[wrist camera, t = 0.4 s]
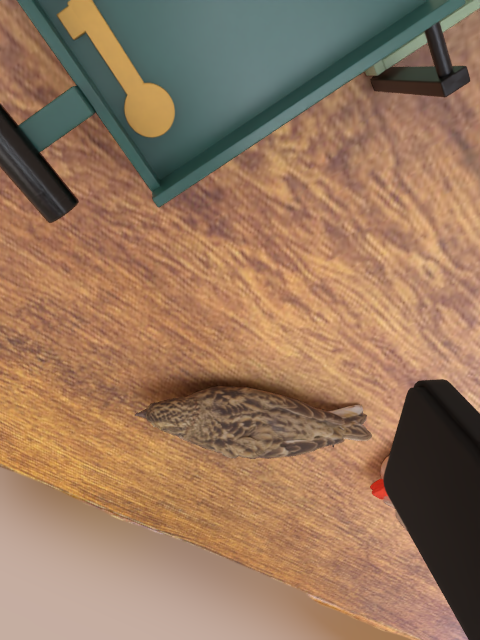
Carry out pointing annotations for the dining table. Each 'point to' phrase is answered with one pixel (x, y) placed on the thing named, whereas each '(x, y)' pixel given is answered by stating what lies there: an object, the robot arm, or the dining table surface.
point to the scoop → (203, 79)
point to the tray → (423, 38)
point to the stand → (425, 72)
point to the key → (121, 70)
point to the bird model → (254, 422)
